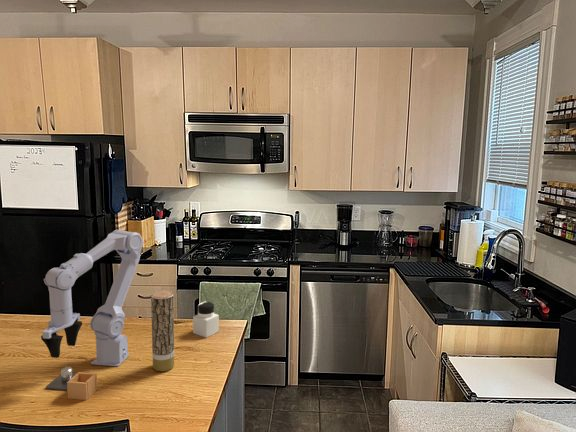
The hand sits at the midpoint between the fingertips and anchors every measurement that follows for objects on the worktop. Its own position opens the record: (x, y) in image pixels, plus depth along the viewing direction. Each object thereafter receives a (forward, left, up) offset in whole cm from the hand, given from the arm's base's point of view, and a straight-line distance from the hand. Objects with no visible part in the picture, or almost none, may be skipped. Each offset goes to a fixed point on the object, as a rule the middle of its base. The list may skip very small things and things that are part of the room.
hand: (63, 351), depth 127 cm
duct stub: (-1, +1, -10) cm, 10 cm away
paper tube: (-26, -12, -10) cm, 31 cm away
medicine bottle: (-32, -40, -10) cm, 52 cm away
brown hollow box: (-9, +6, -10) cm, 14 cm away
